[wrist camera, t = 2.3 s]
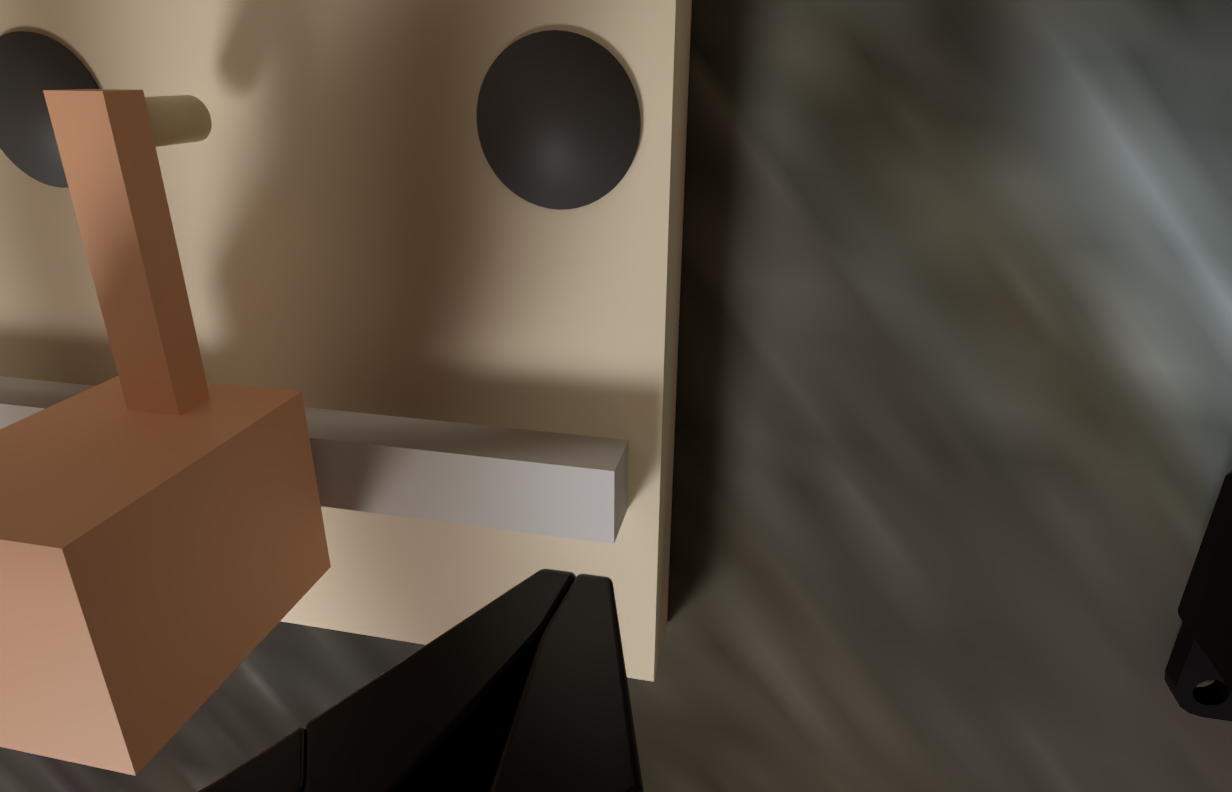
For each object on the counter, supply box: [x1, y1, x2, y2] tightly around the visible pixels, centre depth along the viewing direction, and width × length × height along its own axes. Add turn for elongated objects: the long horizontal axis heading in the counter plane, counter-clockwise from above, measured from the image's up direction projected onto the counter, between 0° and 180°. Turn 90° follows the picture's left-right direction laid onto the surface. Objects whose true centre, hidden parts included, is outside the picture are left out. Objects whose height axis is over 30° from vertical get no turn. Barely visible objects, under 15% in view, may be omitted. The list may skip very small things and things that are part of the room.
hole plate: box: [0, 0, 692, 682], centre depth 12 cm, size 19×11×6 cm, turn 91°
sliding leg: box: [0, 89, 331, 776], centre depth 10 cm, size 3×7×5 cm, turn 1°
